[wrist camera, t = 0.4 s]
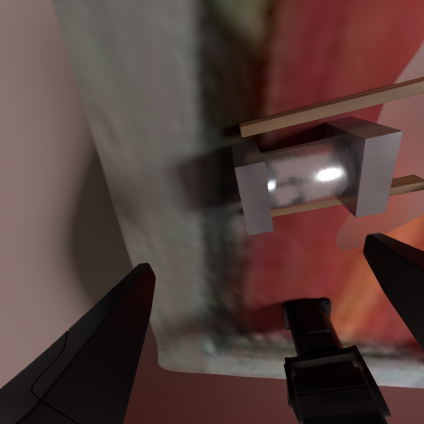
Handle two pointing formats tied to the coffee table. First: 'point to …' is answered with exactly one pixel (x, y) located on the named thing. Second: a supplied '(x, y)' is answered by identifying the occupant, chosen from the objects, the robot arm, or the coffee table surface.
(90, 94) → the coffee table surface
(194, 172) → the coffee table surface
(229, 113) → the coffee table surface
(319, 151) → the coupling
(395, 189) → the cradle rails
